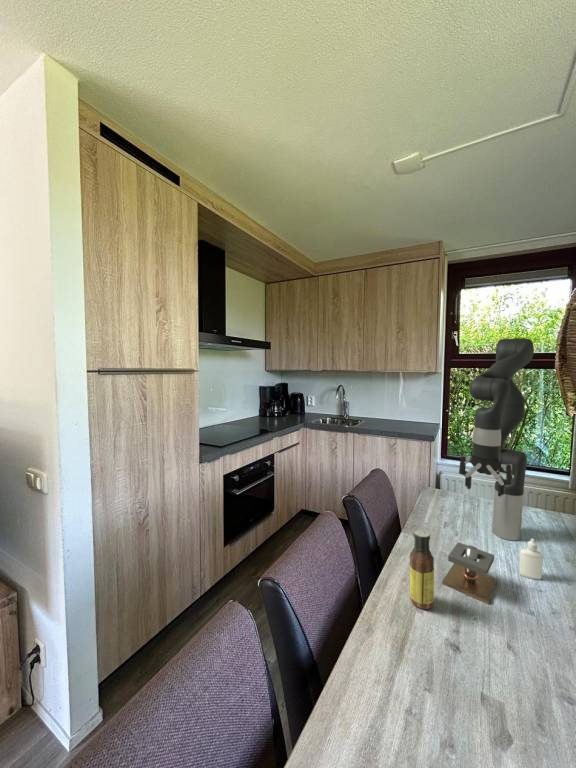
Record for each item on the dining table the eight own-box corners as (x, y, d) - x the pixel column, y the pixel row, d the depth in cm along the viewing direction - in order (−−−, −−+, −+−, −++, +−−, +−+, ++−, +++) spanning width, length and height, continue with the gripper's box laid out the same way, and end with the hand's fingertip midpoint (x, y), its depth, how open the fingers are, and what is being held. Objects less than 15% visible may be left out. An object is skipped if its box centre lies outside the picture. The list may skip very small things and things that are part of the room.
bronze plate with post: (454, 565, 107) (455, 533, 106) (496, 582, 99) (499, 547, 98) (442, 583, 98) (444, 548, 97) (488, 604, 90) (490, 566, 89)
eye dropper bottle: (539, 583, 99) (542, 545, 98) (517, 574, 103) (519, 537, 102) (542, 577, 102) (545, 540, 101) (521, 568, 106) (523, 532, 105)
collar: (457, 546, 105) (457, 542, 105) (493, 560, 98) (494, 554, 98) (448, 560, 98) (448, 555, 98) (486, 576, 91) (486, 570, 91)
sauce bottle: (432, 597, 93) (435, 529, 91) (434, 613, 87) (438, 541, 85) (407, 591, 95) (410, 525, 93) (408, 607, 89) (411, 536, 87)
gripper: (515, 443, 100) (512, 494, 102) (464, 435, 110) (462, 482, 111) (512, 448, 95) (508, 502, 96) (458, 440, 104) (456, 489, 106)
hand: (483, 491), depth 104 cm, fingers open, 8 cm apart
